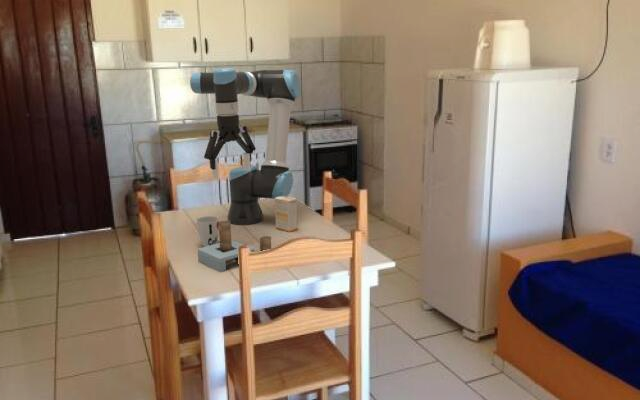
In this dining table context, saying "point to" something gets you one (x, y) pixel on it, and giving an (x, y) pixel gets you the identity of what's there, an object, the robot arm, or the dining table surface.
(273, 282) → the dining table surface
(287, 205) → the supplement box
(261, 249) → the short pin
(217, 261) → the square hole board
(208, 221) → the cup
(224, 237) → the long pin
